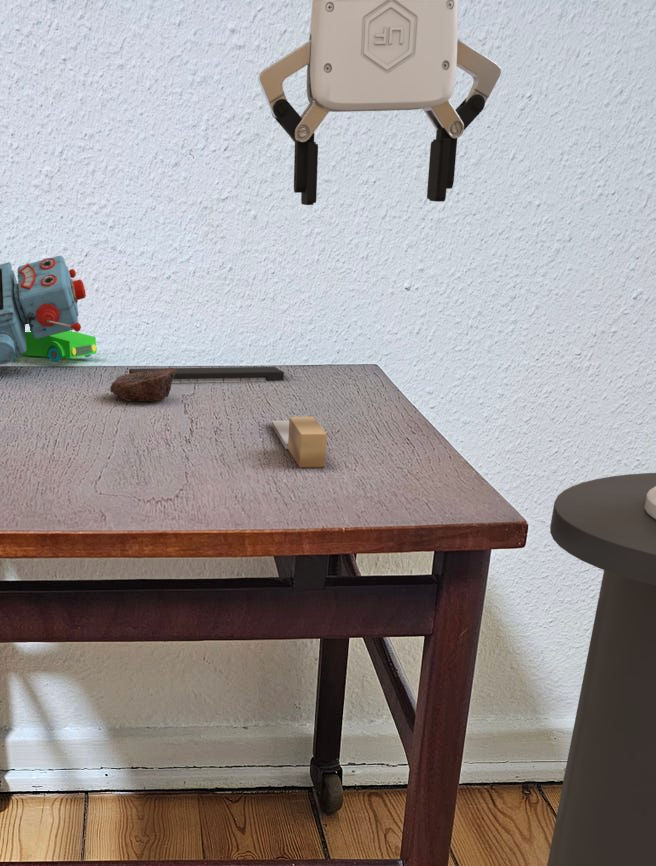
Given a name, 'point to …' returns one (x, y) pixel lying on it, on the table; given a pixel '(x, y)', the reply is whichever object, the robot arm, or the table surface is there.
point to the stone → (144, 385)
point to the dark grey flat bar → (222, 374)
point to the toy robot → (37, 303)
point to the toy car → (60, 345)
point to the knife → (303, 440)
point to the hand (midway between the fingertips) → (372, 202)
